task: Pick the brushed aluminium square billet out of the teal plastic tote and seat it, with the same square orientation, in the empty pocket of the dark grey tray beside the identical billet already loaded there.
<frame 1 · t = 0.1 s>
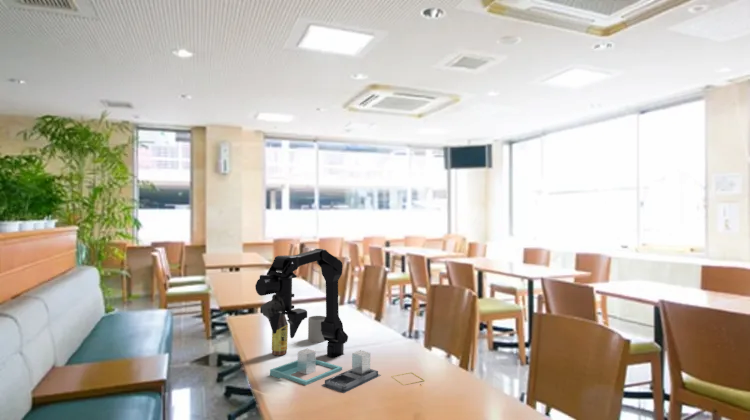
hand: (283, 335, 158), 14 cm above the table, tool pointing down, fingers open, 9 cm apart
cup: (317, 340, 204), on the table
sauce bottle: (279, 354, 183), on the table
tote: (306, 375, 160), on the table
yellow square frame: (407, 384, 154), on the table
dark grey tray: (352, 384, 152), on the table
billet: (306, 373, 160), point 1 cm above the table, touching tote
loaded billet: (361, 376, 156), point 1 cm above the table, touching dark grey tray
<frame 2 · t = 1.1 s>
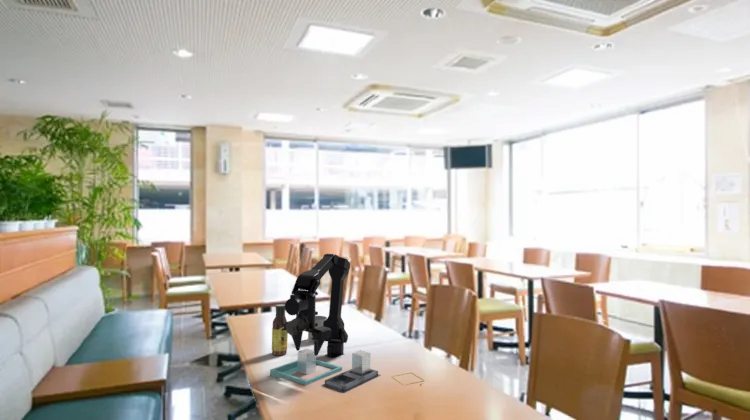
hand: (306, 353, 160), 8 cm above the table, tool pointing down, fingers open, 9 cm apart
nothing on the table moved.
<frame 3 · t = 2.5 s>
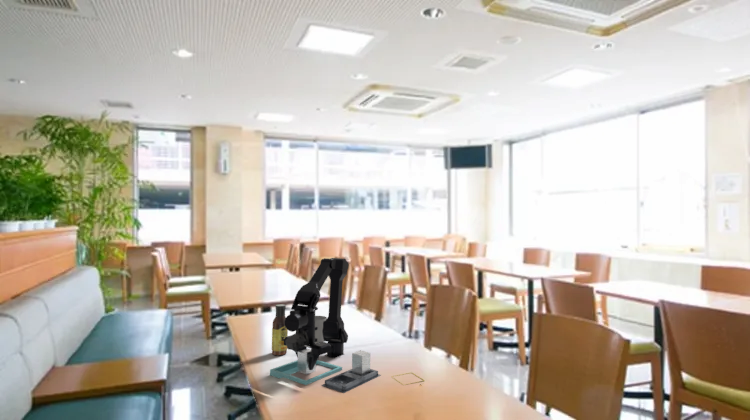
hand: (306, 368, 160), 3 cm above the table, tool pointing down, fingers closed on billet, 4 cm apart
billet: (306, 373, 160), point 1 cm above the table, touching gripper, tote
everything else where it was.
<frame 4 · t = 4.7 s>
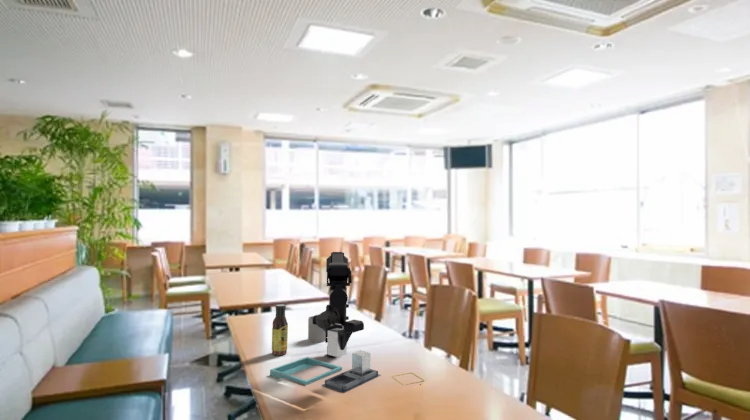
hand: (337, 348, 149), 13 cm above the table, tool pointing down, fingers closed on billet, 4 cm apart
billet: (336, 354, 149), point 11 cm above the table, touching gripper
everything else where it was.
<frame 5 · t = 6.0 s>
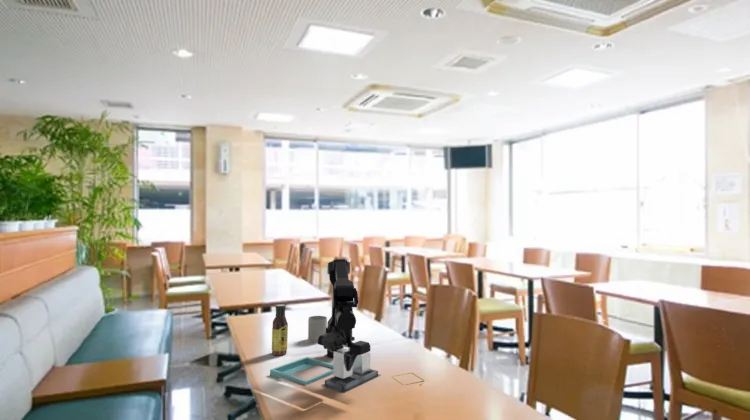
hand: (343, 369, 148), 6 cm above the table, tool pointing down, fingers closed on billet, 4 cm apart
billet: (342, 375, 148), point 5 cm above the table, touching gripper
everything else where it was.
when the fingers open (4 cm above the table, at t = 6.9 s): billet stays where it is, resting on dark grey tray.
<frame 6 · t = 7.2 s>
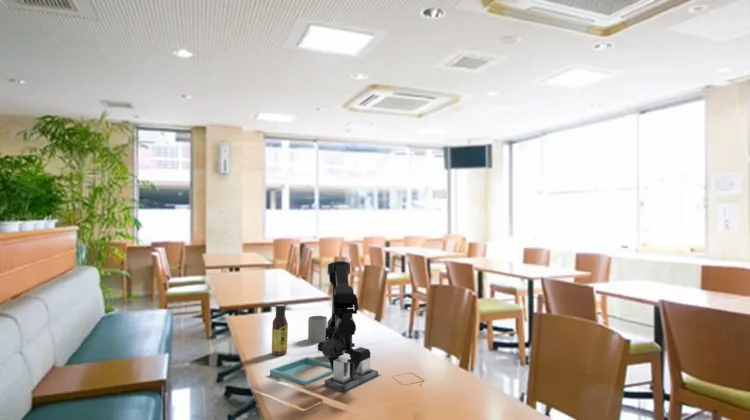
hand: (343, 375, 148), 4 cm above the table, tool pointing down, fingers open, 7 cm apart
billet: (342, 384, 148), point 1 cm above the table, touching dark grey tray
everything else where it was.
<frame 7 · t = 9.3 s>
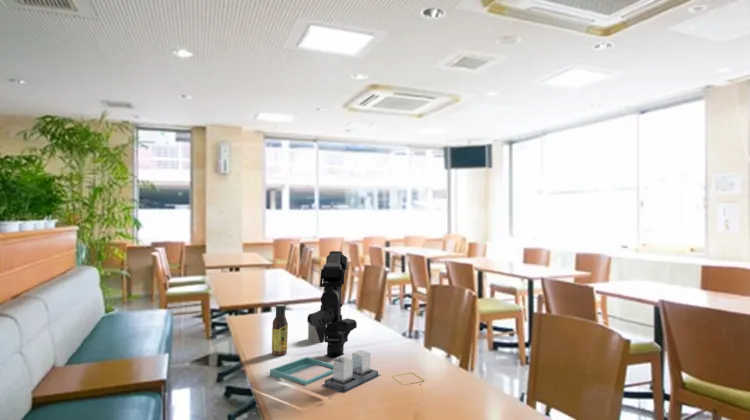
hand: (331, 345, 157), 11 cm above the table, tool pointing down, fingers open, 9 cm apart
nothing on the table moved.
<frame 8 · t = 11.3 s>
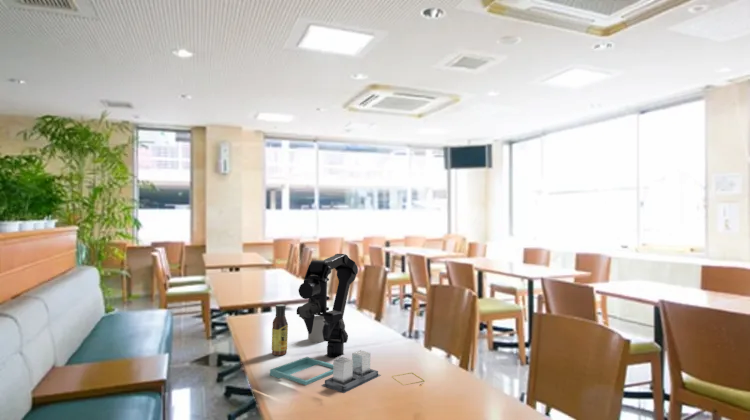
hand: (318, 336, 167), 12 cm above the table, tool pointing down, fingers open, 9 cm apart
nothing on the table moved.
at the end: billet 0.0 cm from the target spot on the dark grey tray, point 1.5 cm above the dark grey tray's base; billet tilted 0°; the gripper is holding nothing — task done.
